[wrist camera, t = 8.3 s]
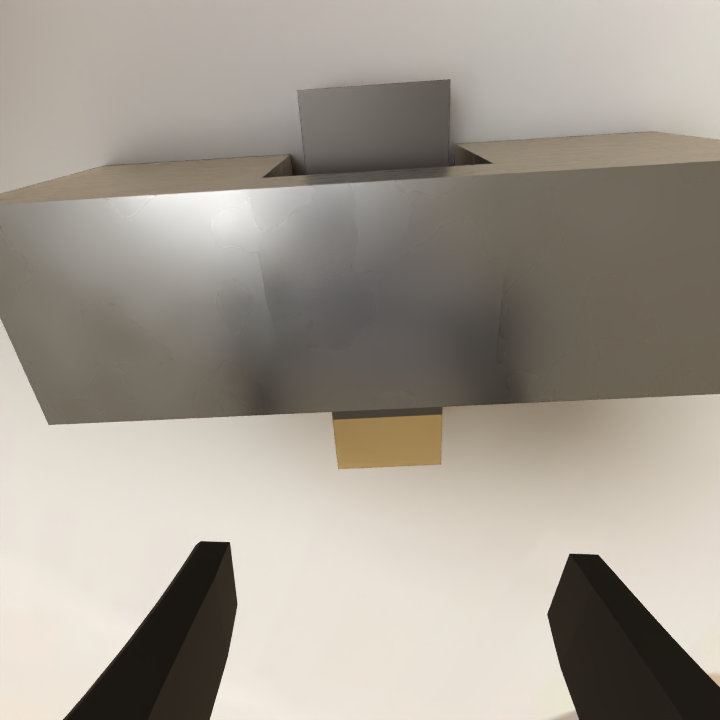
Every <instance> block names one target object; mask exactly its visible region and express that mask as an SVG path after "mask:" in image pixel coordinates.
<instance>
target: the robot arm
mask: <svg viewBox="0 0 720 720" xmlns="http://www.w3.org/2000/svg"><path fill="white" fill-rule="evenodd" d="M236 609H237V597H236V588H235V580H234V572H233V564H232V556H231V547H230V542H206V541H201V542H199V543H198V544H197V545H196V546H195V547H194V549H193V551H192V552H191V554H190V555H189V557H188V558H187V560H186V561H185V563H184V564H183V566H182V567H181V569H180V570H179V572H178V573H177V575H176V576H175V578H174V579H173V581H172V582H171V584H170V585H169V586H168V588H167V589H166V591H165V592H164V593H163V595H162V596H161V598H160V599H159V601H158V602H157V603H156V605H155V606H154V607H153V609H152V610H151V611H150V613H149V614H148V615H147V617H146V618H145V619H144V621H143V622H142V623H141V625H140V626H139V627H138V629H137V630H136V631H135V633H134V634H133V635H132V637H131V638H130V639H129V641H128V642H127V643H126V645H125V646H124V647H123V648H122V650H121V651H120V652H119V653H118V655H117V656H116V657H115V658H114V660H113V661H112V662H111V663H110V664H109V666H108V667H107V668H106V669H105V671H104V672H103V673H102V674H101V675H100V677H99V678H98V679H97V680H96V682H95V683H94V684H93V685H92V686H91V688H90V689H89V690H88V691H87V693H86V694H85V695H84V696H83V697H82V698H81V700H80V701H79V702H78V703H77V704H76V705H75V707H74V708H73V709H72V710H71V711H70V712H69V713H68V715H67V716H66V717H65V718H64V719H63V720H210V717H211V713H212V710H213V706H214V703H215V699H216V696H217V692H218V689H219V685H220V682H221V678H222V675H223V671H224V668H225V664H226V661H227V657H228V652H229V647H230V642H231V637H232V632H233V626H234V621H235V615H236ZM547 615H548V619H549V623H550V627H551V632H552V636H553V640H554V644H555V648H556V652H557V656H558V660H559V663H560V667H561V670H562V673H563V676H564V679H565V681H566V684H567V687H568V690H569V692H570V695H571V698H572V701H573V704H574V706H575V709H576V712H577V715H578V717H579V720H720V687H719V686H718V685H717V684H716V683H715V682H714V681H713V680H712V679H711V678H710V677H709V676H708V675H707V674H706V673H705V672H704V671H703V670H702V669H701V668H700V666H699V665H698V664H697V663H696V662H695V661H694V660H693V659H692V658H691V657H690V656H689V655H688V654H687V653H686V652H685V650H684V649H683V648H682V647H681V646H680V645H679V644H678V643H677V642H676V641H675V640H674V639H673V638H672V637H671V635H670V634H669V633H668V632H667V631H666V630H665V629H664V628H663V627H662V626H661V625H660V623H659V622H658V621H657V620H656V619H655V618H654V617H653V616H652V615H651V613H650V612H649V611H648V610H647V609H646V608H645V607H644V606H643V604H642V603H641V602H640V601H639V600H638V599H637V598H636V597H635V596H634V594H633V593H632V592H631V591H630V590H629V589H628V588H627V587H626V585H625V584H624V583H623V582H622V581H621V580H620V579H619V578H618V576H617V575H616V574H615V573H614V572H613V571H612V570H611V568H610V567H609V566H608V565H607V564H606V563H605V562H604V561H603V560H602V558H601V557H600V556H599V555H591V554H569V557H568V560H567V562H566V565H565V568H564V570H563V573H562V576H561V579H560V581H559V584H558V587H557V589H556V592H555V595H554V597H553V600H552V603H551V606H550V608H549V611H548V614H547Z"/></svg>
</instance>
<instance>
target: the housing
mask: <svg viewBox="0 0 720 720" xmlns="http://www.w3.org/2000/svg"><path fill="white" fill-rule="evenodd" d="M0 318H1V320H2V322H3V325H4V327H5V329H6V331H7V333H8V336H9V338H10V340H11V342H12V345H13V347H14V349H15V351H16V353H17V356H18V358H19V360H20V362H21V364H22V367H23V369H24V371H25V373H26V375H27V378H28V380H29V382H30V384H31V387H32V389H33V391H34V393H35V395H36V398H37V400H38V402H39V404H40V406H41V409H42V411H43V413H44V415H45V417H46V420H47V422H48V424H49V425H56V424H77V423H99V422H121V421H142V420H164V419H186V418H207V417H229V416H251V415H272V414H294V413H316V412H337V411H359V410H380V409H402V408H424V407H445V406H467V405H489V404H510V403H532V402H554V401H575V400H597V399H619V398H640V397H662V396H684V395H705V394H720V140H717V139H709V138H701V137H693V136H685V135H677V134H669V133H661V132H637V133H621V134H606V135H590V136H574V137H558V138H542V139H526V140H510V141H494V142H478V143H462V144H456V147H455V166H447V167H430V168H414V169H398V170H381V171H365V172H349V173H333V174H316V175H300V176H293V171H292V163H291V154H287V155H271V156H255V157H239V158H223V159H207V160H191V161H175V162H160V163H144V164H128V165H112V166H101V167H97V168H93V169H90V170H86V171H82V172H79V173H75V174H71V175H68V176H64V177H60V178H57V179H53V180H49V181H46V182H42V183H38V184H34V185H31V186H27V187H23V188H20V189H16V190H12V191H9V192H5V193H1V194H0Z"/></svg>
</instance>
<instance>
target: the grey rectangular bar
mask: <svg viewBox="0 0 720 720" xmlns="http://www.w3.org/2000/svg"><path fill="white" fill-rule="evenodd" d="M297 93H298V102H299V111H300V121H301V130H302V139H303V148H304V158H305V167H306V175H316V174H333V173H349V172H365V171H381V170H398V169H414V168H430V167H447V166H448V155H449V114H450V80H435V81H421V82H407V83H393V84H379V85H365V86H351V87H337V88H322V89H308V90H297ZM332 416H333V426H334V435H335V444H336V453H337V463H338V469H349V468H371V467H394V466H416V465H438V464H441V441H442V407H424V408H402V409H380V410H359V411H337V412H332Z"/></svg>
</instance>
